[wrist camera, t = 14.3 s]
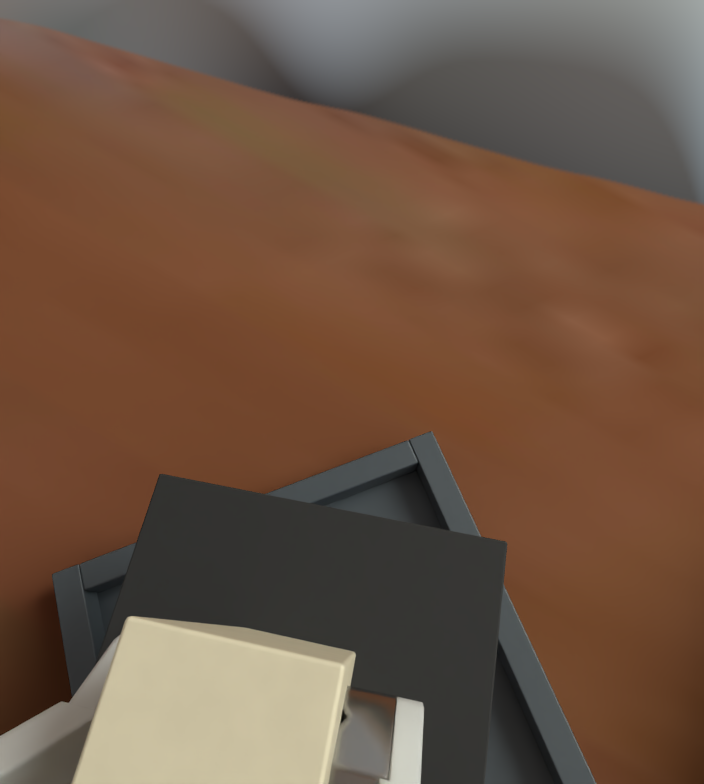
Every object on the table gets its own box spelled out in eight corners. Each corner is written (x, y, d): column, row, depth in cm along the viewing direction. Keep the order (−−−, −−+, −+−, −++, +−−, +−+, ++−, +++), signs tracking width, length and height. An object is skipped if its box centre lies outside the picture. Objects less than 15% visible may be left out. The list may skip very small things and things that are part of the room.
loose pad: (453, 995, 13) (615, 1656, 5) (40, 881, 14) (-457, 1252, 6) (498, 547, 17) (632, 454, 8) (171, 483, 18) (-4, 341, 9)
